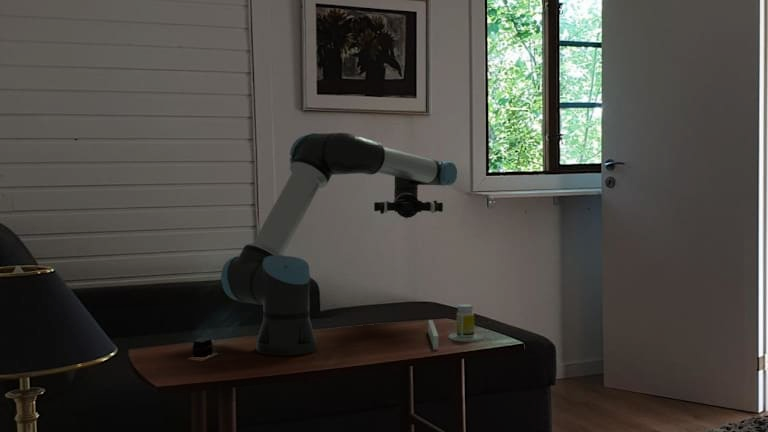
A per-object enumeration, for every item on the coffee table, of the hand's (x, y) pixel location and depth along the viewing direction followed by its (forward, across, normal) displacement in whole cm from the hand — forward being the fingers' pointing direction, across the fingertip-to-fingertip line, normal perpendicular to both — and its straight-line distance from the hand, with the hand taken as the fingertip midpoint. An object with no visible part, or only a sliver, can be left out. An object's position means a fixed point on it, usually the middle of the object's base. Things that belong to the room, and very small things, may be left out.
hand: (409, 208), depth 226 cm
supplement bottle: (+12, -15, -35) cm, 39 cm away
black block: (+34, +52, -36) cm, 72 cm away
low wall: (+15, -6, -35) cm, 38 cm away
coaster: (+12, -15, -35) cm, 40 cm away
